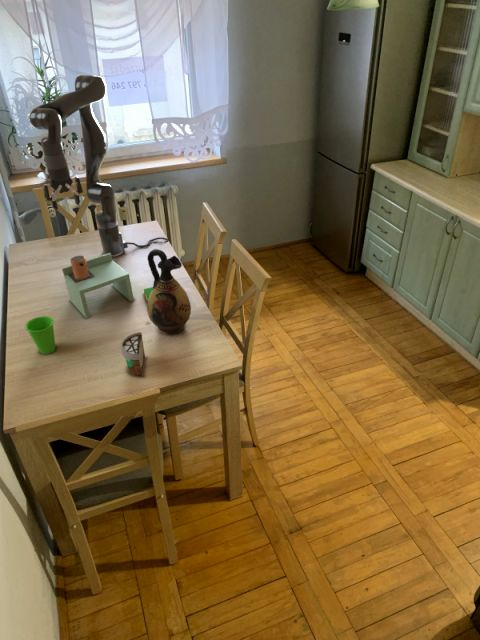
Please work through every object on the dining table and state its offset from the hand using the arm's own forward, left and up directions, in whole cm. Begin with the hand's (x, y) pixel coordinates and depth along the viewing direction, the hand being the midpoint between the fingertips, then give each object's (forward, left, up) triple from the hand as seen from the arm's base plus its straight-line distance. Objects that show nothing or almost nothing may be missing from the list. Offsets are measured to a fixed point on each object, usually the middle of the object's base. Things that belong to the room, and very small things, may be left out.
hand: (67, 206), depth 184 cm
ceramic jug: (-10, +56, -32) cm, 65 cm away
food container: (+11, +69, -32) cm, 77 cm away
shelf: (+2, +23, -32) cm, 40 cm away
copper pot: (+7, +21, -20) cm, 30 cm away
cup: (+30, +41, -32) cm, 60 cm away
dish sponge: (-15, +37, -32) cm, 51 cm away
